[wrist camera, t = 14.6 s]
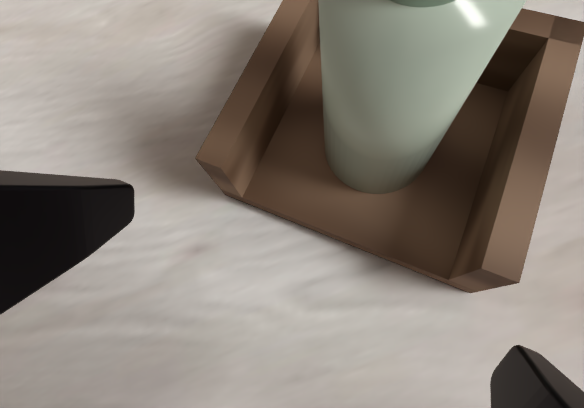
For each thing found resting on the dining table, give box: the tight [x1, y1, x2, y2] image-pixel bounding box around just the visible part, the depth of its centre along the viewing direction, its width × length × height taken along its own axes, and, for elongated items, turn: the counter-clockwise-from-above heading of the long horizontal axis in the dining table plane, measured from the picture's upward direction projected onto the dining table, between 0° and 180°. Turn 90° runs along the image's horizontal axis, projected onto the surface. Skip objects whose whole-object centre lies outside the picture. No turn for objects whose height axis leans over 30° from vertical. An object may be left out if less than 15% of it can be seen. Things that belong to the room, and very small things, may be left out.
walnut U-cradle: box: [195, 0, 584, 293], centre depth 16 cm, size 11×12×4 cm
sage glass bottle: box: [318, 0, 527, 194], centre depth 11 cm, size 5×5×13 cm
